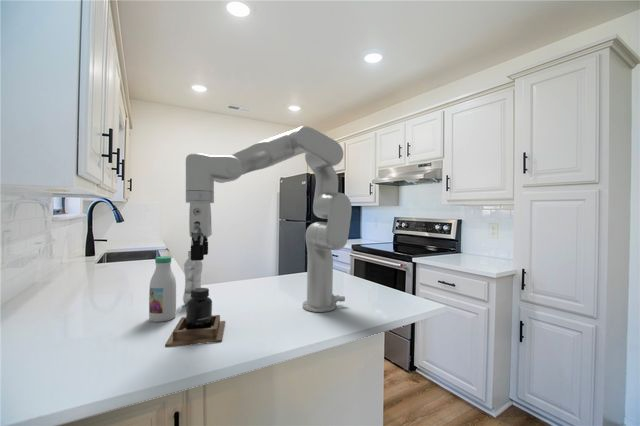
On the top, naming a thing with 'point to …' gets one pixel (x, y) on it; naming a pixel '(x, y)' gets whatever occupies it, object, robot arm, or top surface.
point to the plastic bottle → (191, 276)
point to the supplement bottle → (199, 309)
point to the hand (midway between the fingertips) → (199, 257)
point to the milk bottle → (162, 291)
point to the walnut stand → (196, 333)
